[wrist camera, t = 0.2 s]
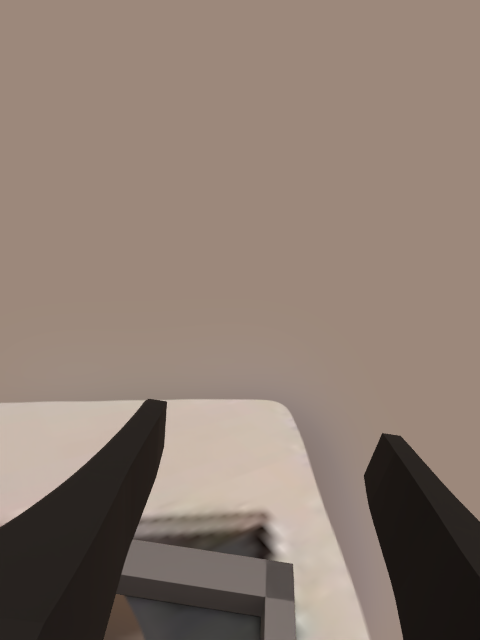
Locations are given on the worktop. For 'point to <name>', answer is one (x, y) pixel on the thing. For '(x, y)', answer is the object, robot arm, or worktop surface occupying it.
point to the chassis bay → (213, 583)
